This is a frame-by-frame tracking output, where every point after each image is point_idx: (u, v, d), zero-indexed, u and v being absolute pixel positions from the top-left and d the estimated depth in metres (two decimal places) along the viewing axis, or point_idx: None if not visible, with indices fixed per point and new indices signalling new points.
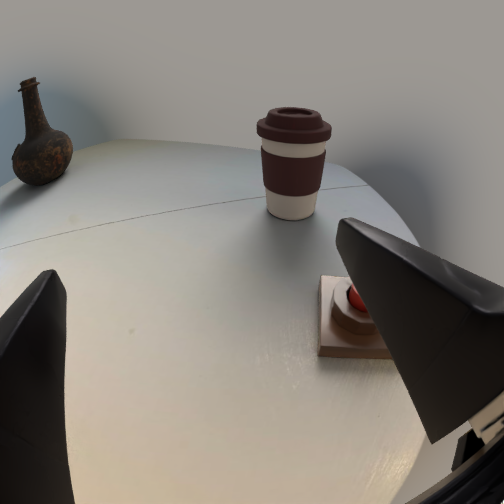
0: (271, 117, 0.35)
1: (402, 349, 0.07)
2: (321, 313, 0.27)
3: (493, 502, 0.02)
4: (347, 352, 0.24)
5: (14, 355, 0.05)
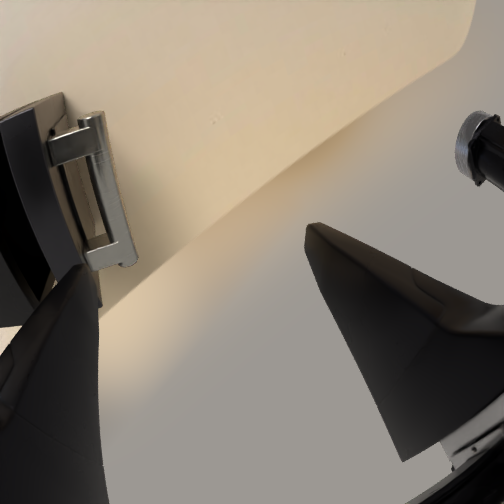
0: None
1: (369, 363, 0.07)
2: None
3: (493, 502, 0.02)
4: None
5: (52, 352, 0.05)
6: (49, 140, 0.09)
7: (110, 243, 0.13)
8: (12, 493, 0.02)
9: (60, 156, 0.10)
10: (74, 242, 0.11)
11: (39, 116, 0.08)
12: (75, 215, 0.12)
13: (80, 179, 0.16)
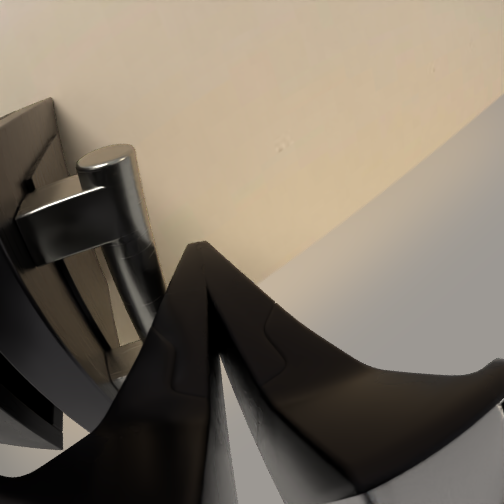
0: None
1: (241, 402, 0.06)
2: None
3: None
4: None
5: (210, 330, 0.05)
6: (19, 216, 0.04)
7: None
8: (221, 503, 0.03)
9: (48, 248, 0.05)
10: (99, 383, 0.06)
11: None
12: (88, 318, 0.08)
13: None
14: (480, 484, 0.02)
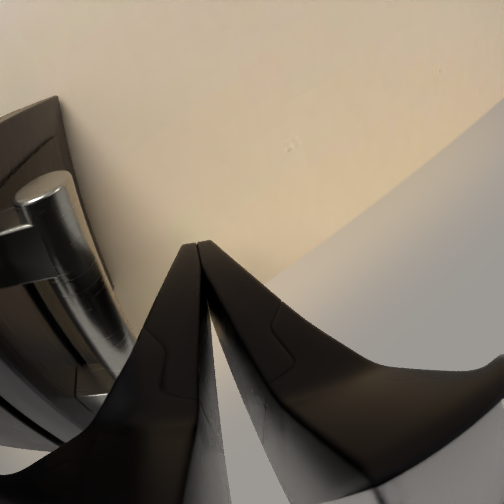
0: None
1: (246, 401, 0.06)
2: None
3: None
4: None
5: (202, 332, 0.05)
6: None
7: None
8: None
9: None
10: (53, 401, 0.06)
11: None
12: (59, 333, 0.07)
13: None
14: (487, 478, 0.02)
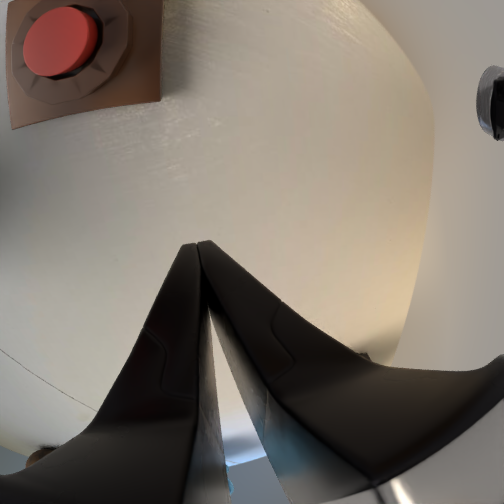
0: None
1: (246, 401, 0.06)
2: (91, 109, 0.12)
3: None
4: (161, 55, 0.12)
5: (202, 332, 0.05)
6: None
7: None
8: None
9: None
10: None
11: None
12: None
13: None
14: (487, 478, 0.02)
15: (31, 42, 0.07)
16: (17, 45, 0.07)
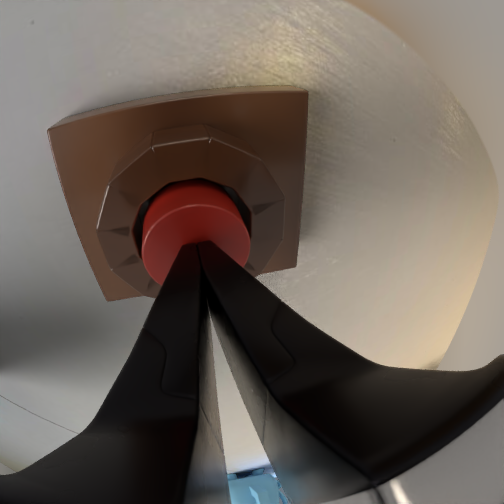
0: None
1: (246, 401, 0.06)
2: None
3: None
4: None
5: (202, 332, 0.05)
6: None
7: None
8: None
9: None
10: None
11: None
12: None
13: None
14: (487, 478, 0.02)
15: (157, 254, 0.08)
16: (108, 233, 0.08)
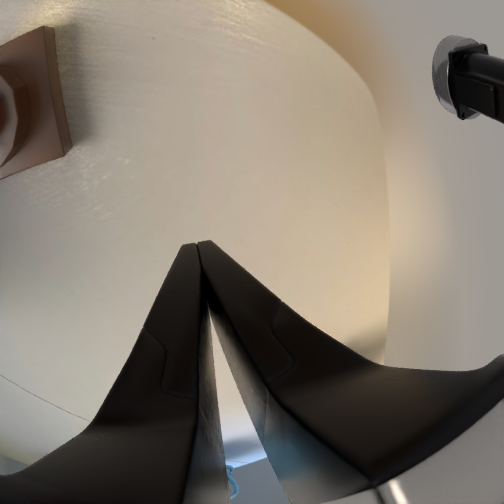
0: None
1: (246, 401, 0.06)
2: (14, 172, 0.13)
3: None
4: (59, 111, 0.12)
5: (202, 332, 0.05)
6: None
7: None
8: None
9: None
10: None
11: None
12: None
13: None
14: (487, 478, 0.02)
15: None
16: None
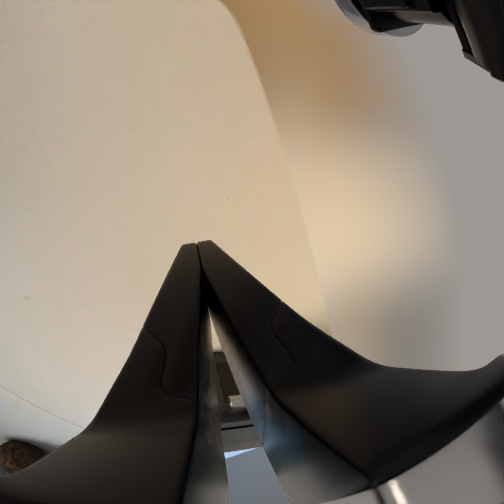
0: None
1: (246, 401, 0.06)
2: None
3: None
4: None
5: (202, 332, 0.05)
6: (231, 413, 0.26)
7: None
8: None
9: (239, 412, 0.26)
10: None
11: (220, 417, 0.26)
12: None
13: None
14: (487, 478, 0.02)
15: None
16: None
